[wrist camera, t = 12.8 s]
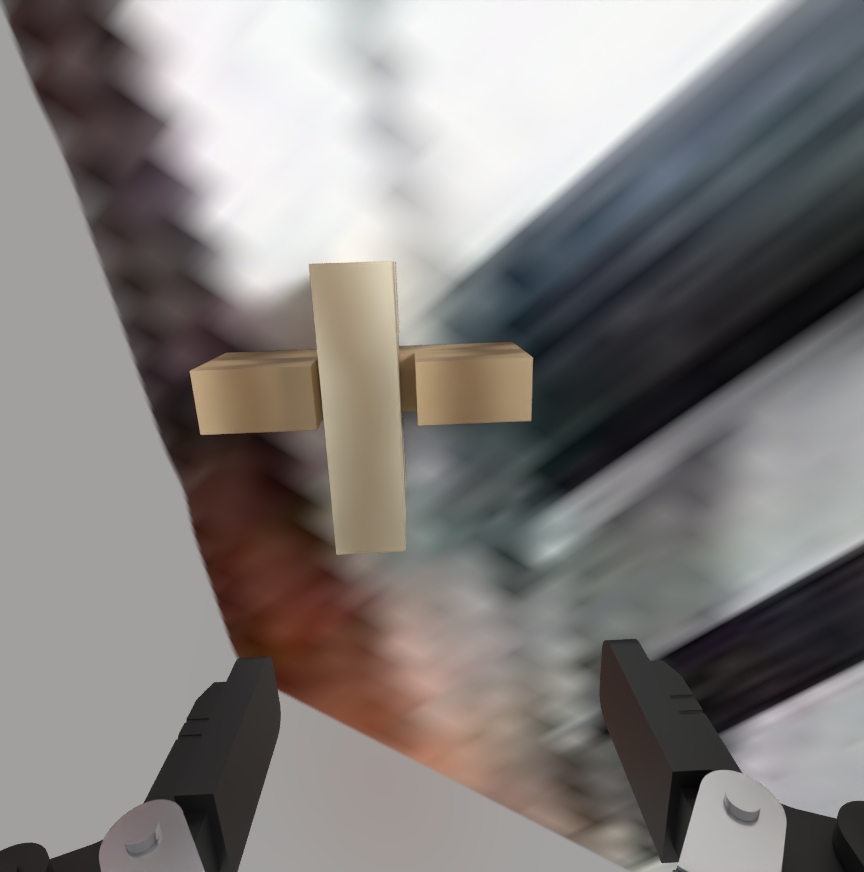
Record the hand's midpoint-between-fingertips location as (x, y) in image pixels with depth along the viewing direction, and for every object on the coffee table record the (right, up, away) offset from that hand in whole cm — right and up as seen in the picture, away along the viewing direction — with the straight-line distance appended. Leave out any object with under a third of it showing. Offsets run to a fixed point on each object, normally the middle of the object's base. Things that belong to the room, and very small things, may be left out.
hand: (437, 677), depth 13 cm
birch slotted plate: (-4, +10, +22) cm, 24 cm away
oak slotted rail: (-4, +10, +22) cm, 24 cm away
